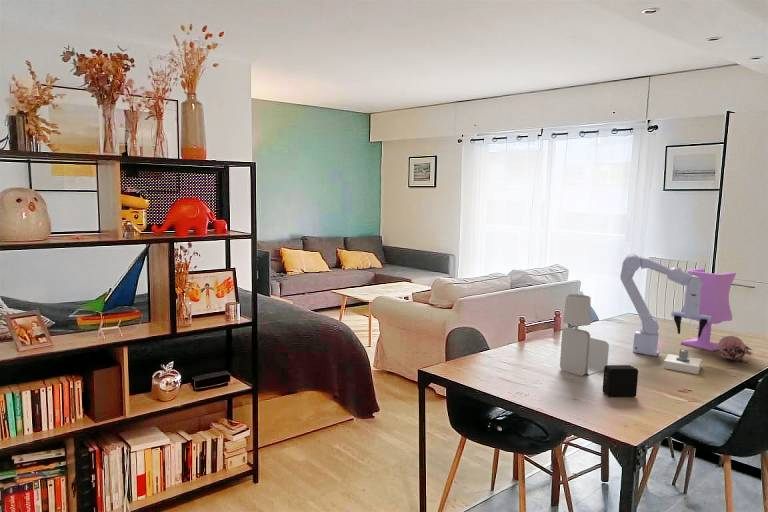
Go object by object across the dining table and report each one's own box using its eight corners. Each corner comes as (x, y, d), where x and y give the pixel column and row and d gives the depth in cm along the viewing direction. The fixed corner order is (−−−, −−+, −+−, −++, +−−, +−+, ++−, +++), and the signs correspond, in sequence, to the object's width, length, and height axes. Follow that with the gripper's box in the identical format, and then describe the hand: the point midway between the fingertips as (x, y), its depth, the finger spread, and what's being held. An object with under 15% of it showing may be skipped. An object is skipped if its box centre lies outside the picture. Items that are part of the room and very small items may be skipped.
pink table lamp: (729, 347, 251) (736, 272, 247) (712, 352, 242) (720, 274, 238) (694, 339, 264) (700, 268, 260) (677, 343, 255) (684, 270, 251)
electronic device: (602, 393, 188) (604, 365, 187) (629, 392, 189) (631, 365, 187) (608, 397, 184) (610, 369, 182) (636, 397, 184) (638, 368, 183)
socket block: (663, 367, 218) (664, 360, 217) (667, 360, 227) (668, 353, 227) (698, 374, 211) (698, 366, 210) (700, 366, 221) (701, 359, 220)
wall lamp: (607, 368, 216) (612, 293, 212) (579, 379, 202) (584, 299, 198) (582, 361, 223) (587, 289, 220) (554, 371, 210) (559, 295, 206)
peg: (677, 367, 219) (678, 350, 218) (679, 365, 221) (680, 348, 220) (685, 368, 217) (687, 351, 216) (687, 367, 219) (688, 350, 219)
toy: (760, 365, 219) (750, 353, 233) (753, 340, 219) (744, 330, 233) (727, 370, 224) (719, 358, 238) (720, 345, 224) (713, 335, 237)
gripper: (671, 302, 231) (668, 334, 233) (711, 307, 223) (707, 339, 225) (673, 300, 237) (671, 330, 238) (712, 305, 229) (709, 336, 230)
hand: (689, 335), depth 232 cm, fingers open, 7 cm apart
